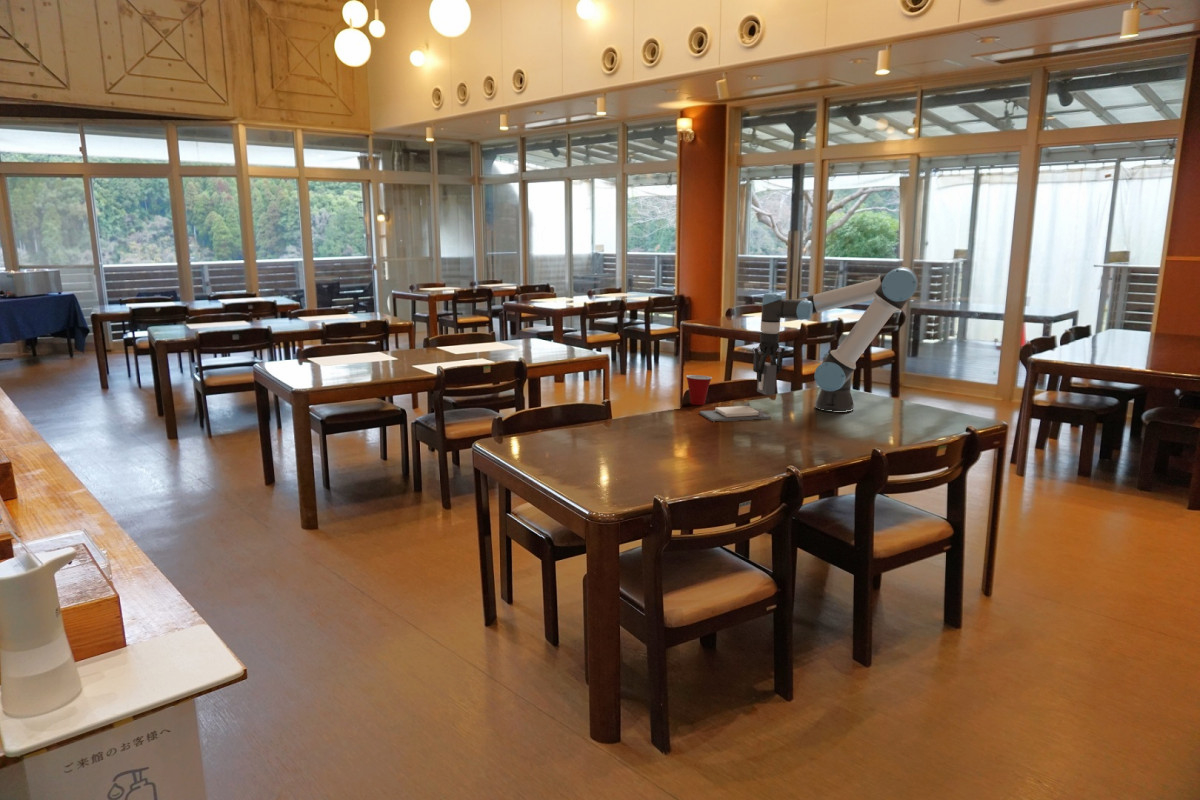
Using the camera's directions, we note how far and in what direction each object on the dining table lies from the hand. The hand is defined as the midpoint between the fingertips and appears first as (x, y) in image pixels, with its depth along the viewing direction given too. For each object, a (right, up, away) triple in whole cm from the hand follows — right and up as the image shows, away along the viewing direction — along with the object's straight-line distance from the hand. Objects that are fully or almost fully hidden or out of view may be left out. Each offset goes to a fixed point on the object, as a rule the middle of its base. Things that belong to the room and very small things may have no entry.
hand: (766, 389), depth 319 cm
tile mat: (-15, -11, -12) cm, 22 cm away
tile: (-7, -9, -11) cm, 15 cm away
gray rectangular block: (0, -2, 0) cm, 2 cm away
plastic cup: (-27, -6, +9) cm, 29 cm away
